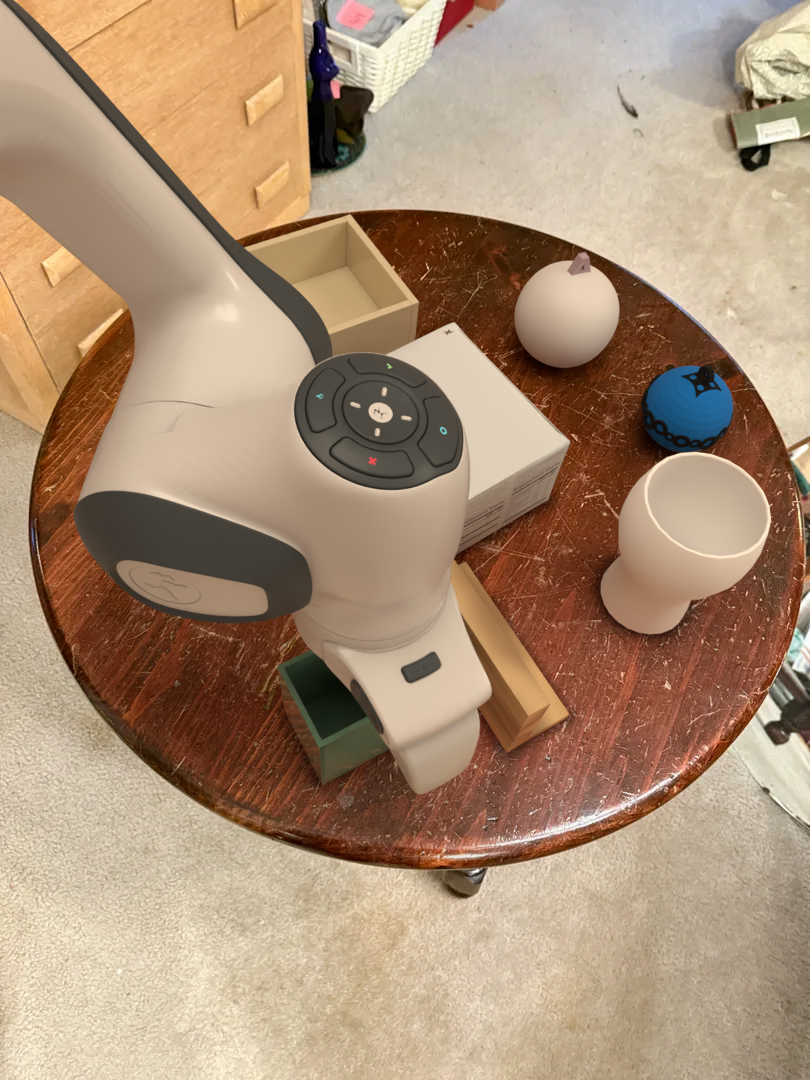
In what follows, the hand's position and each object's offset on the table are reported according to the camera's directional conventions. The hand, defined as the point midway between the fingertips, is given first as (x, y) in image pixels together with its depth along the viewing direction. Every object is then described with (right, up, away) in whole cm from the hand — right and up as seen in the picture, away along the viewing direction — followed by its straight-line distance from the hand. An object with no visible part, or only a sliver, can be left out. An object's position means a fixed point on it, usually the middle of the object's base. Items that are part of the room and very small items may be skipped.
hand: (362, 679), depth 58 cm
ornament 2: (+30, +20, +24) cm, 44 cm away
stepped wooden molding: (+10, 0, +11) cm, 15 cm away
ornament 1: (+19, +30, +30) cm, 46 cm away
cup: (+24, +5, +15) cm, 29 cm away
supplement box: (+7, +17, +20) cm, 27 cm away
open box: (-8, +32, +28) cm, 43 cm away
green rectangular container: (+2, -3, +7) cm, 8 cm away
